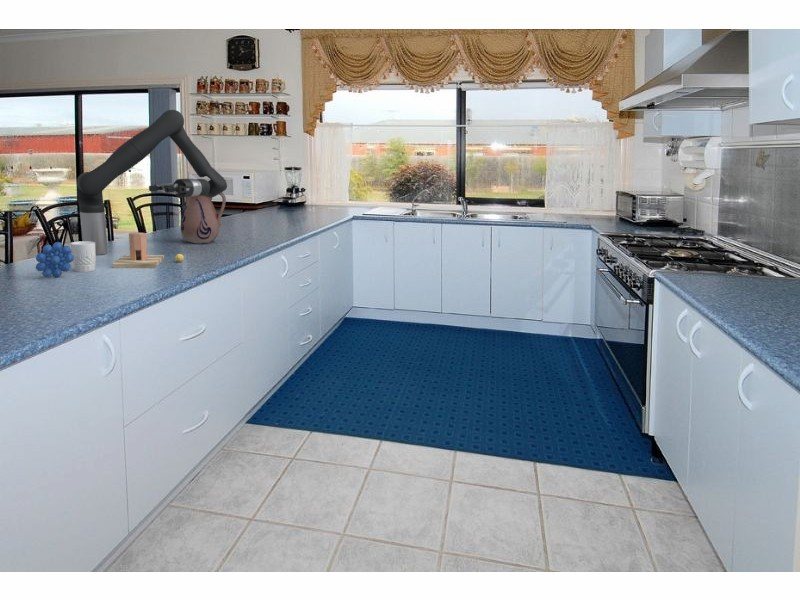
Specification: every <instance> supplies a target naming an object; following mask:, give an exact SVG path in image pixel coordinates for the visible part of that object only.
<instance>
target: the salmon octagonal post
mask: <svg viewBox="0 0 800 600" xmlns="http://www.w3.org/2000/svg"><path fill="white" fill-rule="evenodd" d="M128 242H129V243H128V245H129V255H130V260H134V261H136V258H141V260H147V259H148V258H147V255H148V247H147V246H148V243H147V233H146V232H129V233H128Z"/></svg>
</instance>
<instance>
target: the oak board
mask: <svg viewBox="0 0 800 600" xmlns="http://www.w3.org/2000/svg"><path fill="white" fill-rule="evenodd" d="M147 258H148V259H147V260H141V258H136V261H134V260H130V254H124V255H122V256H121V257H119V258H118V259H117V260H115V261H114V262H113V263H112V264H111V266H112V269H123V268H124V269H129V268H130V269H132V268H133V269H137V268H138V269H143V268H144V269H145V268H147V269H152V268H153V269H154V268H155V269H156V268H157V266H159V264H161V263H162V261H164V259H165V255H164V254H163V255H162V254H159V255H157V254H155V255H154V254H153V255H152V254H150V255H149V254H147Z"/></svg>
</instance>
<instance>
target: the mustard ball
mask: <svg viewBox="0 0 800 600" xmlns="http://www.w3.org/2000/svg"><path fill="white" fill-rule="evenodd" d="M174 259H175V261H176V262H177V263H181V262H183V261H184V259H185V256H184V255H183V254H182V253H178V254H177V253H176V255H175V256H174Z"/></svg>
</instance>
